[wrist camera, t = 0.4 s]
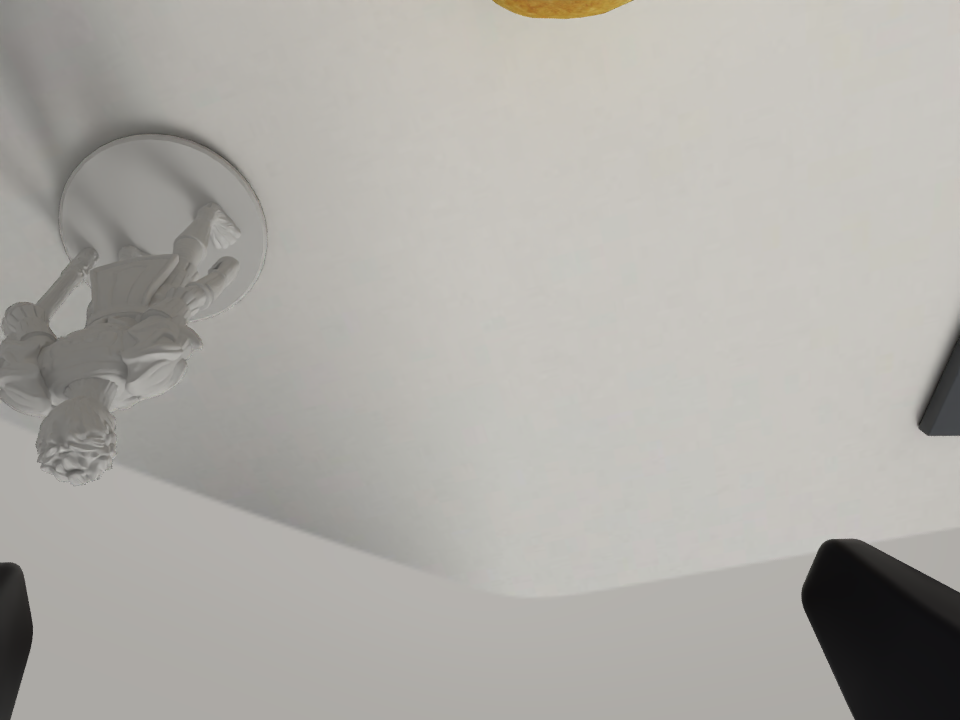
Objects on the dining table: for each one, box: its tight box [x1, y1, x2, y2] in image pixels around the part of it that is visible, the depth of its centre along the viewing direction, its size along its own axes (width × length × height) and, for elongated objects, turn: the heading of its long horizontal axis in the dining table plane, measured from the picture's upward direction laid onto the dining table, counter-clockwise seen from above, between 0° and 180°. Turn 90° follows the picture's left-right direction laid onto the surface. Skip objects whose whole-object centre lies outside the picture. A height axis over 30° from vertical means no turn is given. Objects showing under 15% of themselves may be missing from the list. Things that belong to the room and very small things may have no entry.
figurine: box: [0, 134, 267, 486], centre depth 14 cm, size 5×5×12 cm
